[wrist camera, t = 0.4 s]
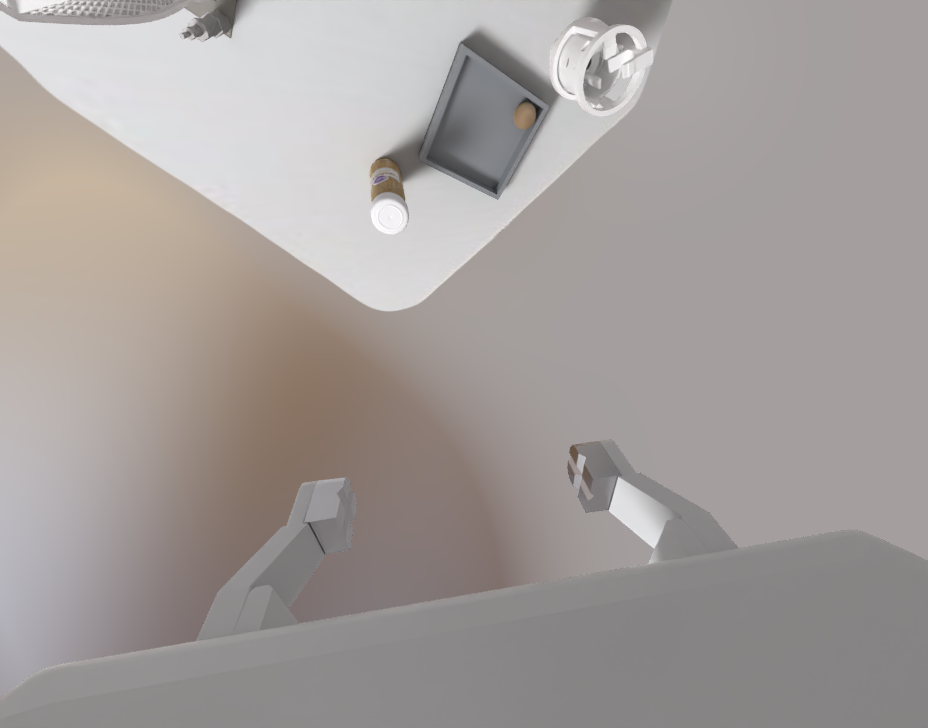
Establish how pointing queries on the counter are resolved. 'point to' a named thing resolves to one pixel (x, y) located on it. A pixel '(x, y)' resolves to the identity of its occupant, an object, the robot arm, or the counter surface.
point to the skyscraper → (128, 13)
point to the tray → (479, 125)
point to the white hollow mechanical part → (597, 63)
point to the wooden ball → (524, 115)
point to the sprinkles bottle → (387, 197)
